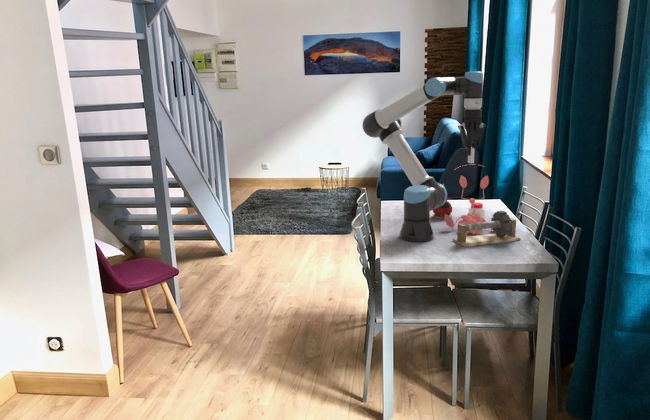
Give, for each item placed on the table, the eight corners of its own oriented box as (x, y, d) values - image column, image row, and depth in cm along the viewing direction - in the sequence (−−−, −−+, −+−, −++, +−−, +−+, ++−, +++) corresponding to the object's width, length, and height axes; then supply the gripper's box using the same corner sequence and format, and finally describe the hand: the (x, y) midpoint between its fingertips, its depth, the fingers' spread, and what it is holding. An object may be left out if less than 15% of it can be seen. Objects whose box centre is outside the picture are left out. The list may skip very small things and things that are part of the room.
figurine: (500, 183, 264) (499, 243, 246) (447, 180, 271) (442, 239, 253) (503, 164, 252) (502, 226, 234) (448, 162, 258) (442, 222, 240)
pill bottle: (466, 226, 257) (467, 204, 255) (469, 222, 264) (470, 201, 262) (482, 228, 254) (483, 206, 251) (485, 224, 261) (486, 202, 258)
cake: (447, 221, 269) (448, 186, 265) (430, 219, 274) (431, 185, 270) (454, 216, 278) (455, 182, 274) (437, 214, 283) (438, 181, 279)
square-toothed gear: (504, 239, 231) (506, 214, 228) (490, 232, 241) (491, 209, 239) (510, 238, 232) (512, 214, 229) (496, 231, 242) (497, 208, 240)
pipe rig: (464, 246, 227) (465, 227, 225) (452, 240, 236) (453, 221, 234) (520, 240, 234) (521, 221, 232) (506, 234, 243) (507, 215, 241)
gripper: (463, 109, 221) (462, 164, 227) (491, 108, 225) (488, 162, 230) (454, 108, 228) (453, 162, 234) (481, 107, 232) (479, 160, 237)
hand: (470, 162), depth 232 cm, fingers closed
